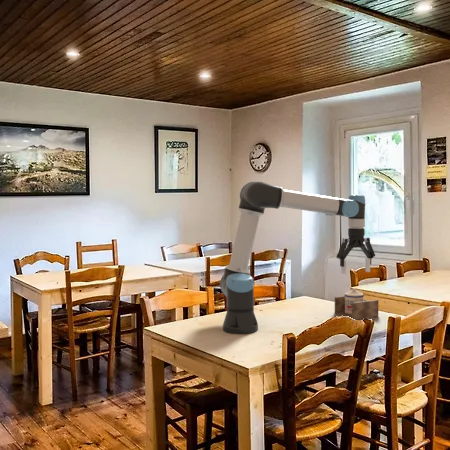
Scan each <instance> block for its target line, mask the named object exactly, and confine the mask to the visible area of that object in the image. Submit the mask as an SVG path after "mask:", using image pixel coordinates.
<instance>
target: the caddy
mask: <svg viewBox="0 0 450 450" xmlns="http://www.w3.org/2000/svg"><path fill="white" fill-rule="evenodd" d="M337 314H338V316H340V315H343V316H349V317H351V318H353V319H360V320H364V319H363V318H368V319H375V318H379V299H372V300H367V301H364V300H363V301H362V302H353V303H352V314H347V313H345V295H341V296H335V297H334V315H337ZM343 316H342V317H343Z"/></svg>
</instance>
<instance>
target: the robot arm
mask: <svg viewBox="0 0 450 450" xmlns="http://www.w3.org/2000/svg"><path fill="white" fill-rule="evenodd" d="M279 208H285V209H291V210H292V209H293V210H300V211H306V212H313V213H318V214H319V213H321V214H324V215H326V216H339V217H347V218H348V220H347V221H348V222H347V223H348V225H347V226H348V229H347V233H348V234H347V236H348V238H344V237H343V238H342V243H341V244H340V247H339V250H338V252H337V254H336V259H338V260H339V263H340V264H339V265H340V267H341V270H340V273H341V274H344V275H347V259H346V258H347V256H348V255H349V253H350V252H351V251H352V250H353V249H354V248H355V249H356V248H360V250H361V251H362V252H363V253H364V255H365V256H366V257H365V262H364V263H365V268H364V271H365V272H366V273H370V272H371V265H372V259H374V257H376V254H375V251H374V248H373V246H372V244H371V238H370V237H367V236H366V237H365V234H366V233H365V232H366V231H365V227H366V219H365V218H366V197H365V195H364V194H349V195H348V197H347V198H339V197H332V196H328V195H320V194H314V193H308V192H301V191H294V190H288V189H283V187H282V186H278V185H273V184H269V183H266V182H263V181H250V182H248V183H246V184H244V186H242V188H241V189H240V192H239V206H238V210H239V212H240V216H239V220H238V225H237V228H236V229H237V230H236V233H235V234H236V235H235V238H234V243H233V247H232V251H231V255H230V256H231V257H230V260H229V264H227V265H226V266H225V268H224V273H223V275H222V276H221V278H220V280H219V281H220V282H219V287H220V288H219V289H220V291H221V293H222V294H223V295H224V296H225V297H226V314H225V316H224V317H225V318H224V320H223V323H222V330H223V331H224V332H225V333H228V334H235V335H240V334H241V335H242V334H252V333H256V332H257V331H258V330H259V323H258V321H257V318H256V315H255V305H254V304H255V299H254V298H255V296H254V291H255V290H254V289H255V288H254V287H255V282H254V278H253V276H251V272H250V270H249V266H250V265H249V264H250V261H251V255H252V252H253V247H254V244H255V238H256V233H257V230H258V224H259V221H260V217H262V216H263V215H264V214H265V209H275V210H276V209H279Z"/></svg>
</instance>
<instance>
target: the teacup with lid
mask: <svg viewBox="0 0 450 450" xmlns="http://www.w3.org/2000/svg"><path fill="white" fill-rule="evenodd" d="M343 296H345V313H347V314H352V303H353V302H362V301H368V299H366V298H364V296H365V294H364V293H363V292H360V291H359V290H357V288H356V287H353V288H352V289H351V290H349V291H346V292H344V295H343Z"/></svg>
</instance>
